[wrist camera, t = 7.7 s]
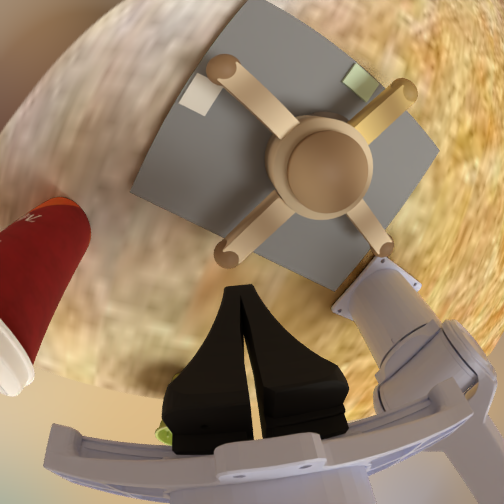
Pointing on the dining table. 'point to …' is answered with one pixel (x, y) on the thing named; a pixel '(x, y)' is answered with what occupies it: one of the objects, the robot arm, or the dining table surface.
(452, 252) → the dining table surface
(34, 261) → the coffee cup
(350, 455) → the robot arm
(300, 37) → the stand board
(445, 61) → the dining table surface
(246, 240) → the tan cross-shaped piece
